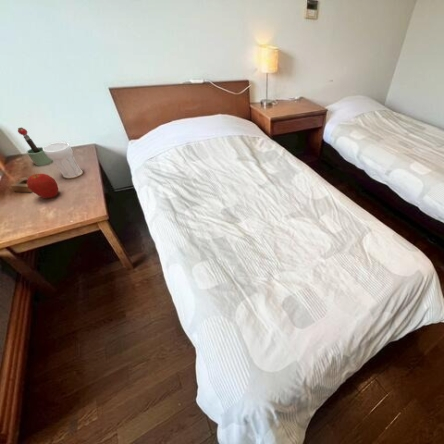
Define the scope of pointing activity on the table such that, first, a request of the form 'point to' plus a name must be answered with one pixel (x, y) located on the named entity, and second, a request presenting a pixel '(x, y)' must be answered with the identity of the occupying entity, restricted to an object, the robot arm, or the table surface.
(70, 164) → the cup
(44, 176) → the red ovoid fruit
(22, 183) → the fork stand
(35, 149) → the strawberry fork
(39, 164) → the dessert cup
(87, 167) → the table surface
